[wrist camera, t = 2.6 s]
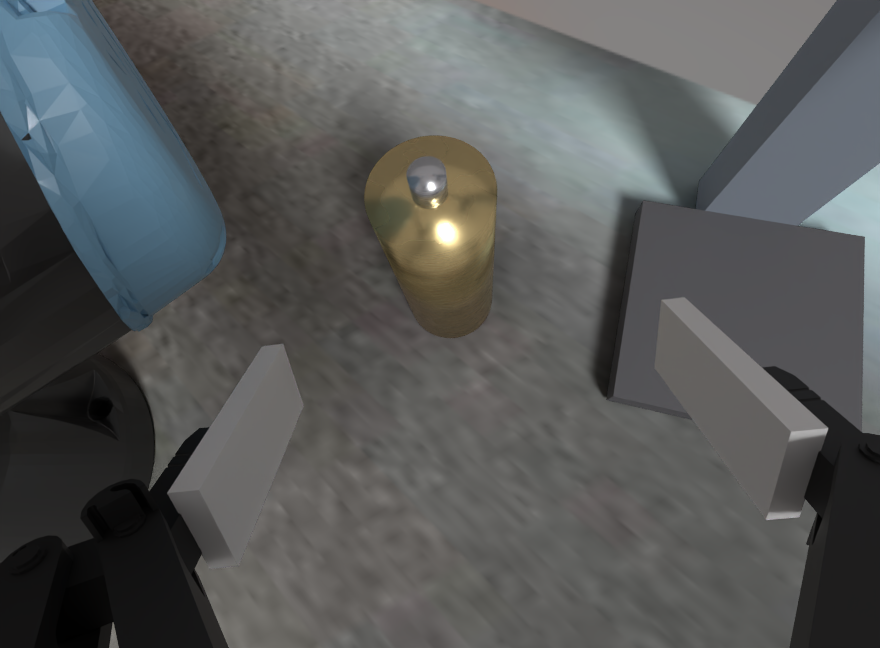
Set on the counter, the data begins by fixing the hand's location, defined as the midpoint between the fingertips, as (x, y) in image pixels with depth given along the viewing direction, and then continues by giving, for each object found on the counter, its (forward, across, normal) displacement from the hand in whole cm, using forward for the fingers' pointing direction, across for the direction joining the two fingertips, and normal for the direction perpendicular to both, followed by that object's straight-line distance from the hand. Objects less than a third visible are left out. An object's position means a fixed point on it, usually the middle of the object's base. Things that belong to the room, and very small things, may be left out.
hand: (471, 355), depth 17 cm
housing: (+12, -1, -3) cm, 13 cm away
